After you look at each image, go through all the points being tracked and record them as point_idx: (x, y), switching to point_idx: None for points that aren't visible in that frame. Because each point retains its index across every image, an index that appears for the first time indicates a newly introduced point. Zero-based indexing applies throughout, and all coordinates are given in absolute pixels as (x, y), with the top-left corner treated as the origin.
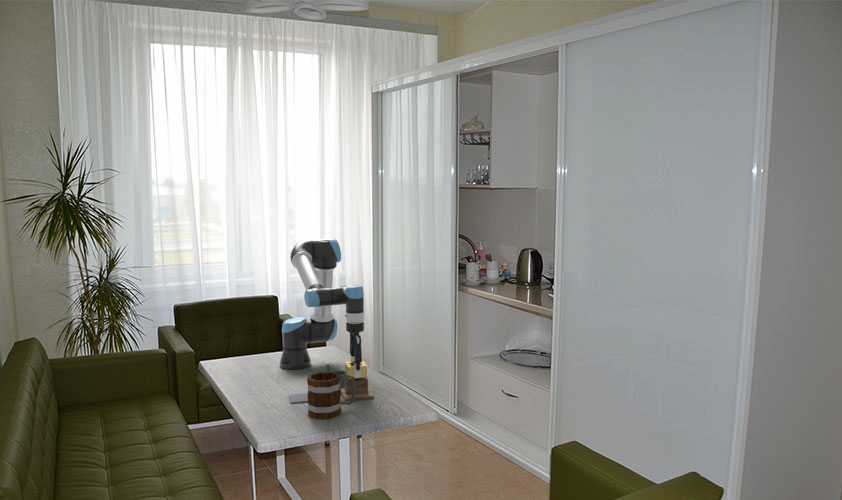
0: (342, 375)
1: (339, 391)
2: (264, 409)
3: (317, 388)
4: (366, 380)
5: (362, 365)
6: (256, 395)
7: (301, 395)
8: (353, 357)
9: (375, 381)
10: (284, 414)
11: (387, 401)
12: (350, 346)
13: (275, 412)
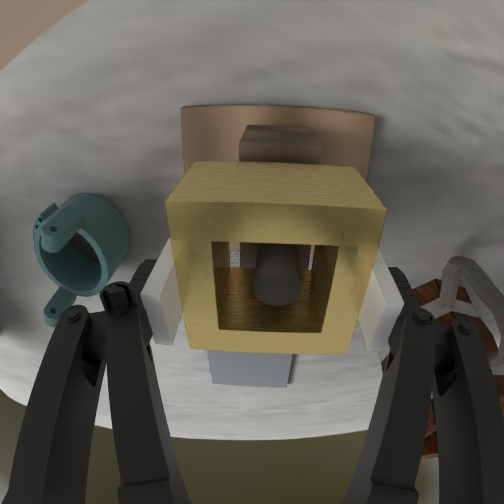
0: (100, 247)
1: (490, 346)
2: (301, 416)
3: None
4: (320, 155)
5: (355, 249)
6: (189, 415)
7: (229, 363)
8: (170, 323)
9: (81, 57)
10: (361, 393)
11: (432, 69)
12: (94, 420)
13: (335, 405)
